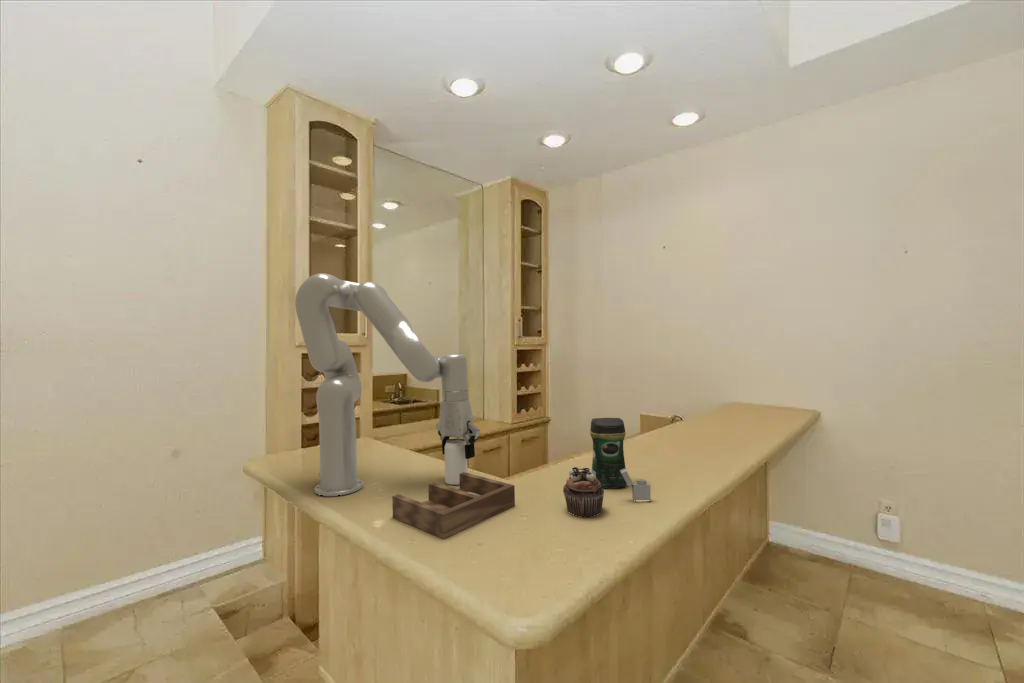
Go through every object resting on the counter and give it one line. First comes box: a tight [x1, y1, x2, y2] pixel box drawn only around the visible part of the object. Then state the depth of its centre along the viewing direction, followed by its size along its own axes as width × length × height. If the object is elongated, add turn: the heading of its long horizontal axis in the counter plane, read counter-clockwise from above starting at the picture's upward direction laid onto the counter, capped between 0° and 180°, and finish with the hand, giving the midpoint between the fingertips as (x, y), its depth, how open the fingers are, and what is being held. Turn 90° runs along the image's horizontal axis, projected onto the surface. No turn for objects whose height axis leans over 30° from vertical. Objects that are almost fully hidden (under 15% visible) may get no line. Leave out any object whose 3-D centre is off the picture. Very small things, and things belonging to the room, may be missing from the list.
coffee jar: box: [589, 417, 628, 489], centre depth 121 cm, size 10×8×19 cm
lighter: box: [620, 468, 652, 501], centre depth 109 cm, size 7×2×8 cm, turn 87°
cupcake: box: [562, 466, 605, 518], centre depth 103 cm, size 10×10×10 cm
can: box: [444, 438, 468, 486], centre depth 126 cm, size 6×6×12 cm
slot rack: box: [391, 472, 516, 540], centre depth 104 cm, size 18×23×5 cm
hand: (458, 455), depth 126 cm, fingers open, 9 cm apart
